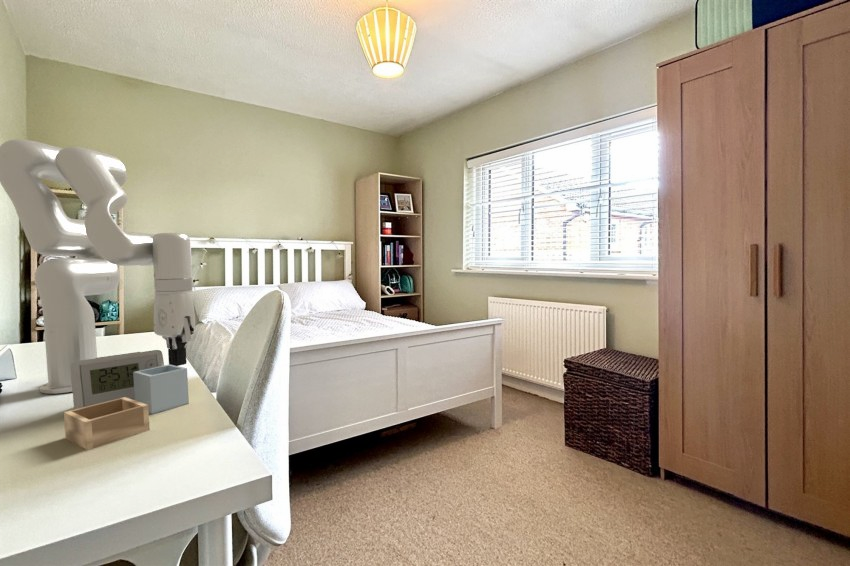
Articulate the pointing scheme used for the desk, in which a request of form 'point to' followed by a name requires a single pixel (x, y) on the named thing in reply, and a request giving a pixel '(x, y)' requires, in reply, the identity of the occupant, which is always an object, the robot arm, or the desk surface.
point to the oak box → (106, 422)
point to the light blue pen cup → (161, 387)
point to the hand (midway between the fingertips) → (177, 364)
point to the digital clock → (109, 376)
